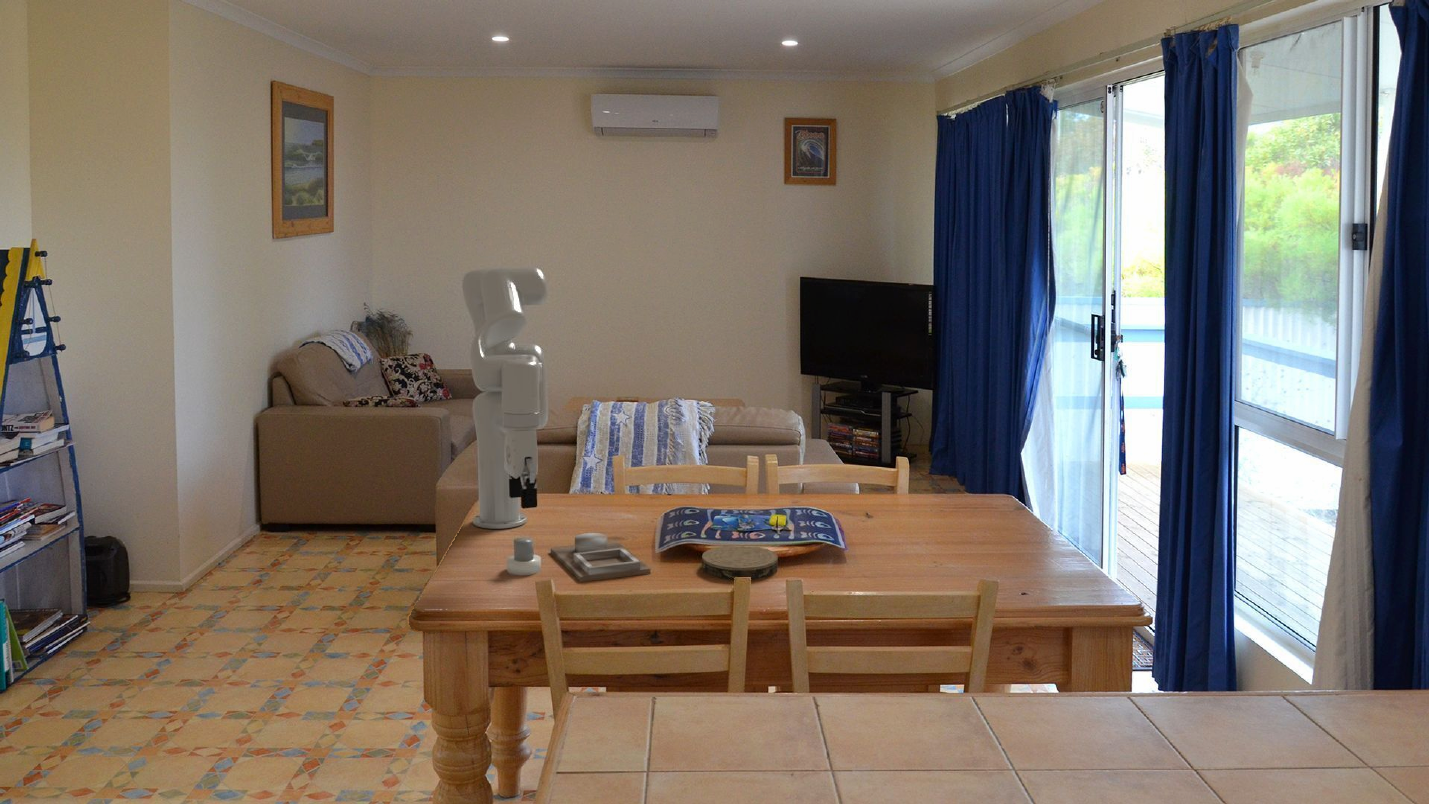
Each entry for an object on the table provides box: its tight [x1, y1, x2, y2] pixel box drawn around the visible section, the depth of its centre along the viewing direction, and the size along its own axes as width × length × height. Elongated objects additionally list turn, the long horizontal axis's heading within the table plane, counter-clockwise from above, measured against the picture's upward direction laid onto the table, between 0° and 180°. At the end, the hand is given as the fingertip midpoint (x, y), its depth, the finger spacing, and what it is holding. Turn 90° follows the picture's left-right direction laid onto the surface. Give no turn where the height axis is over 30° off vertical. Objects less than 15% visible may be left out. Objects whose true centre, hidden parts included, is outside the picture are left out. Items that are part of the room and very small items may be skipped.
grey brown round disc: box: [701, 545, 779, 581], centre depth 252 cm, size 16×16×3 cm
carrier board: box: [550, 532, 651, 583], centre depth 255 cm, size 22×15×4 cm
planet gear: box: [506, 537, 542, 576], centre depth 250 cm, size 7×7×6 cm
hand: (523, 502), depth 247 cm, fingers open, 9 cm apart
